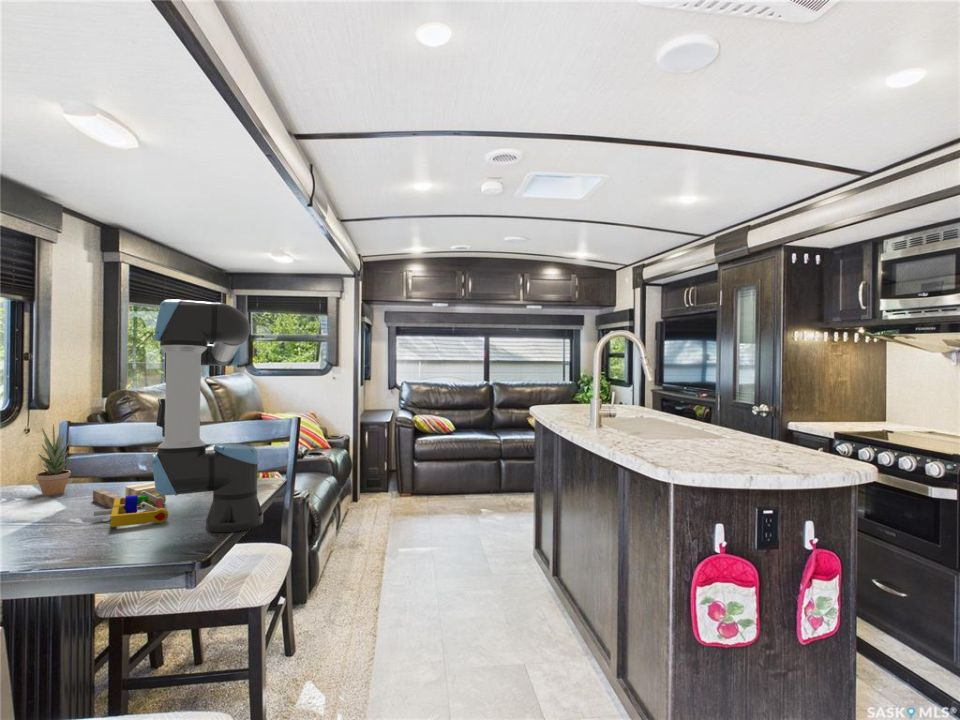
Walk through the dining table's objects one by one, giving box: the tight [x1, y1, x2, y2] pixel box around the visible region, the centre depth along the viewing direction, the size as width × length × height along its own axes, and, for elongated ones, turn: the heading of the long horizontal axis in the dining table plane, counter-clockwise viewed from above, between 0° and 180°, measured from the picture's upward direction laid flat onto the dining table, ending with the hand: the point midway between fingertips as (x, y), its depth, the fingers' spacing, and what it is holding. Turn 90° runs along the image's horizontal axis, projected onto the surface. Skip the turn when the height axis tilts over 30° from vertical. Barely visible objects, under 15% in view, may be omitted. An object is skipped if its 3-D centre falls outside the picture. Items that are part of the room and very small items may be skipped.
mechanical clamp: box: [93, 491, 169, 528], centre depth 159 cm, size 18×6×30 cm
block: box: [124, 481, 157, 497], centre depth 181 cm, size 9×9×4 cm
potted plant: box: [35, 423, 73, 496], centre depth 183 cm, size 10×10×25 cm
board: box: [92, 488, 125, 509], centre depth 170 cm, size 18×2×4 cm, turn 55°
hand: (178, 444), depth 188 cm, fingers open, 7 cm apart
